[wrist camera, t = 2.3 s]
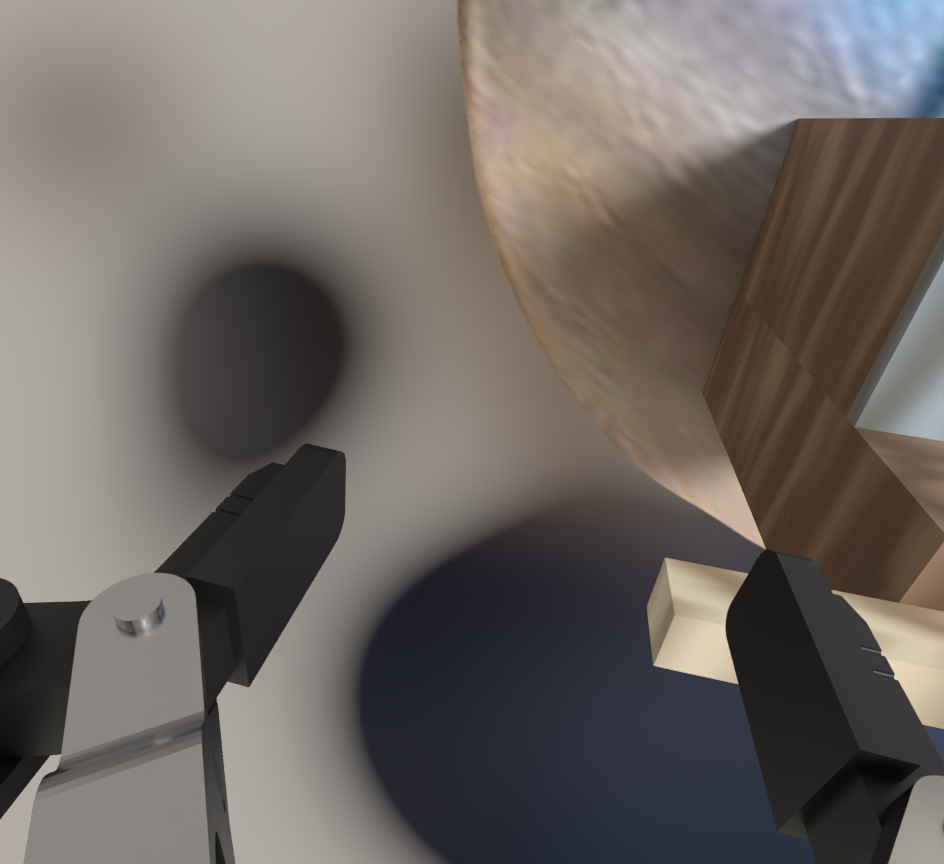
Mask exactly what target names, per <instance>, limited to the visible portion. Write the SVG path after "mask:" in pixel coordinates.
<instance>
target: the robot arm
mask: <svg viewBox="0 0 944 864" xmlns="http://www.w3.org/2000/svg"><path fill="white" fill-rule="evenodd" d="M345 476H346V458H345V454H344V453H343V452H341V451H337V450H333V449H328V448H324V447H319V446H315V445H311V444H304V445H302V446H301V447H300V448H299V449H298V450H297V452H296V453H295V454H294V455H293V456H292V457H291V458H290V459H289V461H288V462H287V463H286V464H285V465H282V464H277V463H273V462H272V463H271V464H269V465H267V466H265V467H263V468H261V469H259V470H257V471H255V472H253V473H251V474H249V475H248V476H247V477H246V478H245V479H244V480H243V481H242V482H241V483H240V484H239V485H238V486H237V487H236V488H235V489H234V490H233V491H232V492H231V495H230V497H227V498H226V499H225V500H224V501H223V502H222V503H221V504H220V505H219V506H218V507H217V508H216V511H215V513H214V512H212V513H211V514H210V515H209V516H208V517H207V519H205V520H204V521H203V523H202V524H201V525H200V526H199V527H198V528H197V529H196V530H195V531H194V532H193V533H192V534H191V535H190V536H189V537H188V538H187V539H186V540H185V541H184V542H183V543H182V544H181V545H180V546H179V548H178V549H177V550H176V551H175V552H174V553H173V554H172V555H171V556H170V557H169V558H168V559H167V560H166V561H165V562H164V563H163V564H162V565H161V566H160V567H159V568H158V569H157V570H156V571H155V572H154V573H149V574H142V575H138V576H134V577H130V578H128V579H125V580H122V581H120V582H118V583H116V584H114V585H112V586H111V587H109V588H108V589H106V590H104V591H103V592H102V593H100V594H99V595H98V596H97V597H95V598H94V599H93V600H91V601H77V602H45V603H44V602H43V603H23V601H22V599H21V597H20V595H19V592H18V590H17V588H16V587H15V586H14V585H13V584H12V583H11V582H9V581H7V580H4V579H1V578H0V819H1V818H2V816H3V815H4V814H5V813H6V811H7V810H8V809H9V807H10V806H11V805H12V804H13V802H14V801H15V800H16V798H17V797H18V796H19V794H20V793H21V792H22V791H23V789H24V788H25V787H26V786H27V784H28V783H29V782H30V780H31V779H32V778H33V777H34V775H35V774H36V773H37V772H38V770H39V769H40V768H41V766H42V765H43V764H44V763H45V761H46V760H47V759H48V757H49V756H50V755H58V754H61V758H60V763H59V765H58V768H57V770H56V771H54V772H52V773H49V774H47V775H45V776H44V778H43V779H42V781H41V783H40V784H39V787H38V790H37V792H36V796H35V800H34V804H33V809H32V815H31V822H30V828H29V834H28V840H27V846H26V852H25V859H24V864H235V857H234V851H233V844H232V838H231V831H230V822H229V813H228V803H227V792H226V782H225V772H224V761H223V751H222V741H221V731H220V720H219V710H218V703H217V696H218V695H219V693H220V692H221V690H222V688H223V687H224V685H225V684H226V682H227V681H228V682H232V683H235V684H239V685H243V686H246V687H250V685H251V683H252V682H253V680H254V678H255V677H256V675H257V673H258V672H259V670H260V668H261V667H262V665H263V663H264V662H265V660H266V658H267V657H268V655H269V653H270V651H271V650H272V648H273V647H274V645H275V643H276V642H277V640H278V638H279V636H280V635H281V633H282V632H283V630H284V628H285V627H286V625H287V623H288V622H289V620H290V618H291V617H292V615H293V613H294V612H295V610H296V608H297V607H298V605H299V603H300V602H301V600H302V598H303V597H304V595H305V593H306V592H307V590H308V588H309V587H310V585H311V583H312V582H313V580H314V578H315V577H316V575H317V573H318V572H319V570H320V568H321V566H322V565H323V563H324V562H325V560H326V558H327V557H328V555H329V553H330V552H331V550H332V548H333V547H334V545H335V543H336V541H337V539H338V537H339V535H340V532H341V529H342V526H343V521H344V516H345V480H346V477H345ZM725 630H726V638H727V642H728V646H729V650H730V654H731V658H732V661H733V665H734V669H735V673H736V677H737V681H738V684H739V688H740V692H741V696H742V700H743V704H744V707H745V711H746V715H747V719H748V723H749V726H750V730H751V734H752V738H753V742H754V746H755V749H756V753H757V757H758V761H759V765H760V769H761V772H762V776H763V780H764V784H765V788H766V791H767V795H768V799H769V803H770V807H771V810H772V814H773V818H774V822H775V826H776V830H777V832H781V833H784V834H787V835H791V836H794V837H798V838H802V839H805V840H809V841H810V845H811V848H812V851H813V855H814V857H815V861H816V864H944V763H943V761H942V759H941V757H940V756H939V754H938V752H937V750H936V748H935V747H934V745H933V743H932V741H931V739H930V737H929V736H928V734H927V732H926V730H925V728H924V726H923V725H922V723H921V721H920V719H919V717H918V715H917V714H916V712H915V710H914V708H913V706H912V705H911V703H910V701H909V699H908V697H907V695H906V694H905V692H904V690H903V688H902V686H901V684H900V683H899V681H898V680H895V679H894V675H895V673H894V672H893V670H892V668H891V666H890V664H889V663H888V661H887V659H886V657H885V656H882V655H881V651H882V650H881V648H880V646H879V644H878V642H877V641H876V639H875V637H874V635H873V633H872V631H871V630H870V628H869V626H868V624H867V622H866V621H865V620H864V619H863V618H862V617H861V616H860V615H859V614H858V613H857V612H856V611H855V610H854V609H853V608H852V606H851V605H850V604H849V603H848V602H847V601H846V600H845V599H844V598H843V597H842V596H841V595H837V594H833V592H832V590H831V588H830V586H829V584H828V582H827V580H826V578H825V576H824V574H823V573H822V571H821V569H820V567H819V565H818V564H817V563H816V562H815V561H814V560H812V559H808V558H804V557H799V556H795V555H791V554H786V553H782V552H778V551H774V550H765V551H764V552H762V553H761V554H760V556H759V557H758V558H757V560H756V562H755V564H754V565H753V567H752V569H751V570H750V572H749V574H748V575H747V577H746V579H745V580H744V582H743V584H742V585H741V587H740V589H739V590H738V592H737V594H736V595H735V597H734V599H733V600H732V602H731V604H730V606H729V609H728V612H727V616H726V625H725Z"/></svg>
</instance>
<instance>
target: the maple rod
mask: <svg viewBox="0 0 944 864" xmlns="http://www.w3.org/2000/svg"><path fill="white" fill-rule="evenodd" d="M747 575H748V574H746V573H741V572H736V571H731V570H726V569H721V568H715V567H710V566H705V565H700V564H695V563H689V562H685V561H679V560H674V559H669V558H665V560H664V562H663V565H662V568H661V571H660V573H659V576H658V578H657V581H656V584H655V586H654V589H653V592H652V594H651V597H650V600H649V603H648V605H647V612H648V621H649V629H650V638H651V648H652V656H653V665H654V666H658V667H662V668H667V669H671V670H676V671H680V672H685V673H690V674H694V675H699V676H703V677H708V678H712V679H717V680H722V681H727V682H731V683H735V684H738V681H737V677H736V673H735V669H734V665H733V661H732V658H731V654H730V650H729V646H728V642H727V638H726V630H725V625H726V616H727V612H728V609H729V606H730V604H731V602H732V600H733V599H734V597H735V595H736V594H737V592H738V590H739V589H740V587H741V585H742V584H743V582H744V580H745V579H746V577H747ZM832 592H833V594H837V595H841V596H842V597H843V598H844V599H845V600H846V601H847V602H848V603H849V604H850V605H851V606H852V608H853V609H854V610H855V611H856V612H857V613H858V614H859V615H860V616H861V617H862V618H863V619H864V620H865V621H866V622H867V624H868V626H869V628H870V630H871V631H872V633H873V635H874V637H875V639H876V641H877V642H878V644H879V646H880V648H881V650H882V651H881V655H882V656H885V657H886V659H887V661H888V663H889V664H890V666H891V668H892V670H893V672H894V673H895V675H894V679H895V680H898V681H899V683H900V684H901V686H902V688H903V690H904V692H905V694H906V695H907V697H908V699H909V701H910V703H911V705H912V706H913V708H914V710H915V712H916V714H917V715H918V717H919V719H920V721H921V723H922V724H924V725H928V726H933V727H937V728H942V729H944V612H943V611H938V610H933V609H928V608H922V607H917V606H912V605H907V604H902V603H897V602H891V601H886V600H881V599H876V598H871V597H866V596H860V595H855V594H850V593H845V592H840V591H835V590H832Z"/></svg>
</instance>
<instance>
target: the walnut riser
mask: <svg viewBox="0 0 944 864" xmlns="http://www.w3.org/2000/svg"><path fill="white" fill-rule="evenodd" d="M703 395H704V397H705V399H706V402H707V404H708V407H709V409H710V412H711V414H712V417H713V419H714V422H715V424H716V427H717V429H718V431H719V434H720V436H721V439H722V441H723V444H724V446H725V449H726V451H727V454H728V456H729V459H730V461H731V463H732V466H733V468H734V471H735V473H736V476H737V478H738V481H739V483H740V486H741V488H742V491H743V493H744V495H745V498H746V500H747V503H748V505H749V508H750V510H751V513H752V515H753V518H754V520H755V523H756V525H757V527H758V530H759V532H760V535H761V537H762V540H763V542H764V545H765V547H766V550H774V551H778V552H782V553H786V554H791V555H795V556H799V557H804V558H808V559H812V560H814V561H815V562H816V563H817V564H818V565H819V567H820V569H821V571H822V573H823V574H824V576H825V578H826V580H827V582H828V584H829V586H830V588H831V590H835V591H840V592H845V593H850V594H855V595H860V596H866V597H871V598H876V599H881V600H886V601H891V602H897V603H902V604H907V605H912V606H917V607H922V608H928V609H933V610H938V611H943V612H944V118H840V119H799V120H798V123H797V125H796V128H795V131H794V134H793V137H792V140H791V143H790V146H789V148H788V151H787V154H786V157H785V160H784V163H783V166H782V168H781V171H780V174H779V177H778V180H777V183H776V186H775V188H774V191H773V194H772V197H771V200H770V203H769V206H768V209H767V211H766V214H765V217H764V220H763V223H762V226H761V229H760V231H759V234H758V237H757V240H756V243H755V246H754V249H753V251H752V254H751V257H750V260H749V263H748V266H747V269H746V272H745V274H744V277H743V280H742V283H741V286H740V289H739V292H738V294H737V297H736V300H735V303H734V306H733V309H732V312H731V315H730V317H729V320H728V323H727V326H726V329H725V332H724V335H723V337H722V340H721V343H720V346H719V349H718V352H717V355H716V357H715V360H714V363H713V366H712V369H711V372H710V375H709V378H708V380H707V383H706V386H705V389H704V392H703Z"/></svg>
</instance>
